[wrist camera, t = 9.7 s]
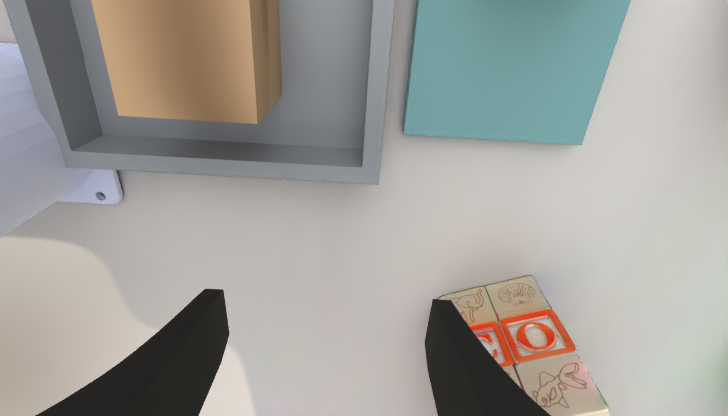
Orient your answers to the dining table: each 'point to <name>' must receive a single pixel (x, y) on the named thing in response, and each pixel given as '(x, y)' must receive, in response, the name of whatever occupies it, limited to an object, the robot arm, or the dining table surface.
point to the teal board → (509, 68)
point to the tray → (222, 139)
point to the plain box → (192, 57)
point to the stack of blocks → (531, 345)
